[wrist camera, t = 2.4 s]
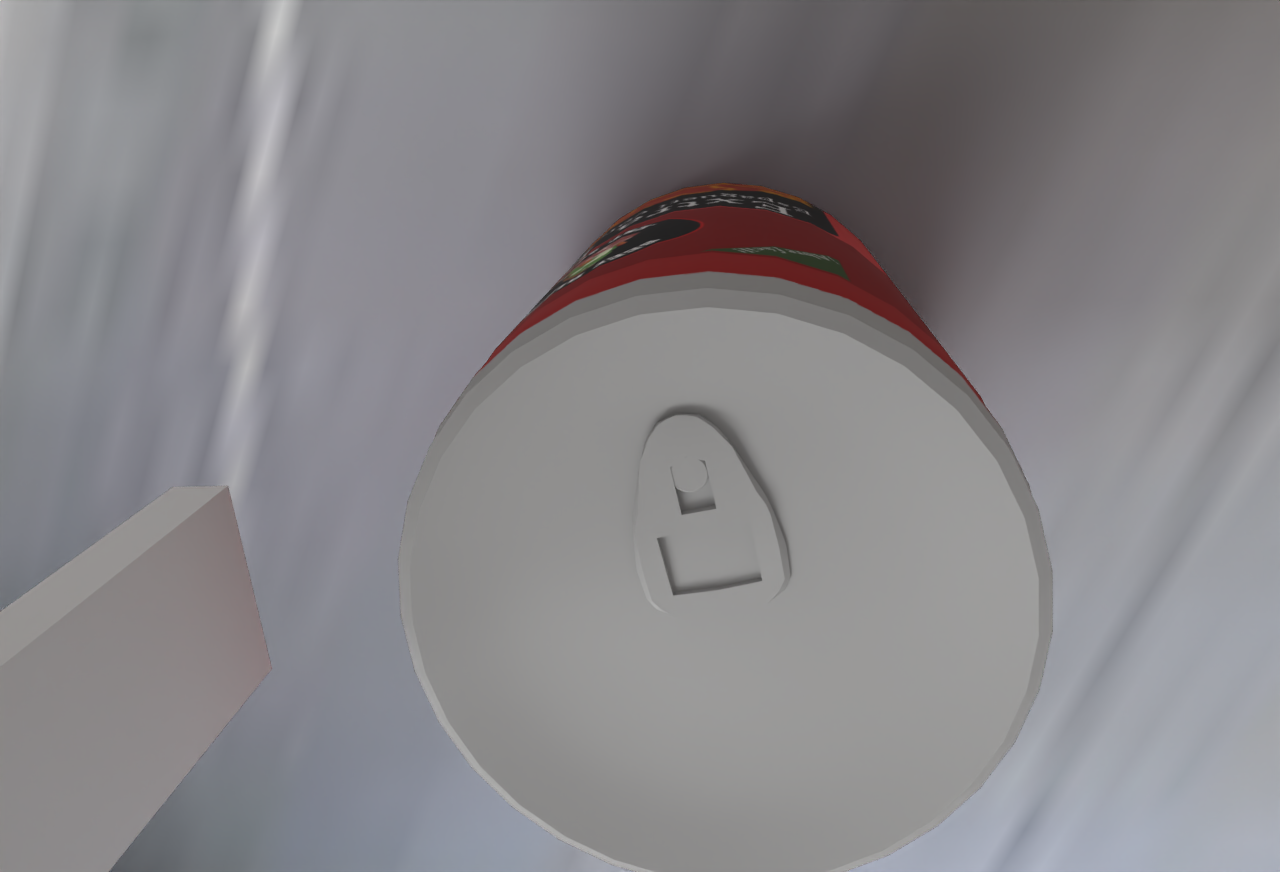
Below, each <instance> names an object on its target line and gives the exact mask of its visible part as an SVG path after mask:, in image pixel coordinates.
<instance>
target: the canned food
mask: <svg viewBox="0 0 1280 872" xmlns="http://www.w3.org/2000/svg"><path fill="white" fill-rule="evenodd" d="M398 570H399V591H400V613H401V619H402V623H403V627H404V631H405V635H406V639H407V643H408V647H409V651H410V655H411V659H412V662H413V666H414V670H415V673H416V675H417V677H418V679H419V681H420V683H421V685H422V688H423V690H424V692H425V694H426V696H427V698H428V700H429V702H430V704H431V707H432V709H433V711H434V713H435V715H436V717H437V719H438V721H439V723H440V724H441V726H442V727H443V728H444V730H445V731H446V733H447V734H448V735H449V737H450V738H451V740H452V741H453V742H454V744H455V745H456V746H457V748H458V749H459V751H460V752H461V753H462V755H463V756H464V758H465V759H466V760H467V762H468V763H469V764H470V766H471V767H472V768H473V769H474V770H475V771H476V772H477V773H478V774H479V775H480V776H481V777H482V778H483V779H484V780H485V781H486V782H487V783H488V784H489V785H490V786H491V787H492V788H493V789H494V790H495V791H496V792H497V793H498V794H499V795H500V796H501V797H502V798H503V799H504V800H505V801H506V802H507V803H509V804H510V805H511V806H512V807H513V808H514V809H516V810H517V811H518V812H520V813H521V814H523V815H524V816H526V817H527V818H529V819H530V820H531V821H533V822H534V823H536V824H537V825H539V826H540V827H542V828H543V829H544V830H546V831H547V832H549V833H550V834H552V835H553V836H555V837H556V838H557V839H559V840H561V841H563V842H565V843H567V844H569V845H571V846H573V847H575V848H578V849H580V850H582V851H584V852H586V853H588V854H590V855H592V856H594V857H596V858H598V859H601V860H603V861H605V862H607V863H609V864H611V865H615V866H618V867H621V868H625V869H628V870H632V871H635V872H846V871H849V870H851V869H854V868H856V867H859V866H862V865H864V864H867V863H870V862H872V861H875V860H878V859H880V858H883V857H886V856H888V855H890V854H892V853H893V852H895V851H897V850H898V849H900V848H902V847H904V846H905V845H907V844H909V843H910V842H912V841H914V840H915V839H917V838H919V837H920V836H922V835H924V834H925V833H927V832H929V831H930V830H932V829H934V828H935V827H937V826H938V825H939V824H941V823H942V822H943V821H944V820H945V819H946V818H947V817H948V816H950V815H951V814H952V813H953V812H954V811H955V810H956V809H957V808H959V807H960V806H961V805H962V804H963V803H964V802H965V801H967V800H968V799H969V798H970V797H971V796H972V795H973V794H974V793H976V792H977V791H978V790H979V789H980V788H981V787H982V785H983V784H984V783H985V781H986V780H987V779H988V777H989V776H990V775H991V773H992V772H993V771H994V769H995V768H996V767H997V765H998V764H999V763H1000V761H1001V760H1002V759H1003V758H1004V756H1005V755H1006V754H1007V752H1008V751H1009V750H1010V748H1011V747H1012V746H1013V744H1014V743H1015V741H1016V739H1017V737H1018V735H1019V733H1020V730H1021V728H1022V726H1023V724H1024V722H1025V720H1026V718H1027V715H1028V713H1029V711H1030V709H1031V707H1032V705H1033V703H1034V701H1035V698H1036V696H1037V694H1038V692H1039V690H1040V685H1041V681H1042V677H1043V672H1044V668H1045V663H1046V659H1047V654H1048V650H1049V645H1050V641H1051V637H1052V632H1053V592H1052V567H1051V562H1050V558H1049V553H1048V549H1047V545H1046V540H1045V536H1044V531H1043V527H1042V523H1041V518H1040V514H1039V509H1038V507H1037V505H1036V503H1035V501H1034V499H1033V497H1032V494H1031V490H1030V486H1029V484H1028V482H1027V480H1026V478H1025V476H1024V473H1023V471H1022V469H1021V467H1020V465H1019V463H1018V461H1017V459H1016V457H1015V455H1014V452H1013V450H1012V448H1011V446H1010V444H1009V442H1008V440H1007V438H1006V436H1005V434H1004V431H1003V429H1002V428H1001V426H1000V425H999V424H998V422H997V421H996V420H995V418H994V417H993V416H992V414H991V413H990V412H989V410H988V409H987V408H986V406H985V404H984V402H983V400H982V398H981V396H980V395H979V394H978V392H977V391H976V390H975V389H974V387H973V386H972V385H971V383H970V382H969V381H968V380H967V378H966V377H965V376H964V374H963V373H962V372H961V370H960V369H959V368H958V367H957V365H956V364H955V363H954V361H953V360H952V359H951V357H950V356H949V355H948V354H947V352H946V351H945V350H944V348H943V347H942V346H941V345H940V343H939V342H938V341H937V339H936V338H935V337H934V335H933V334H932V333H931V332H930V330H929V329H928V328H927V326H926V325H925V324H924V322H923V321H922V320H921V319H920V317H919V316H918V315H917V313H916V312H915V311H914V310H913V308H912V307H911V306H910V304H909V303H908V302H907V300H906V299H905V298H904V297H903V295H902V294H901V293H900V291H899V290H898V289H897V287H896V286H895V285H894V284H893V282H892V281H891V280H890V278H889V277H888V276H887V275H886V273H885V272H884V271H883V269H882V268H881V267H880V265H879V264H878V263H877V262H876V260H875V259H874V258H873V256H872V255H871V254H870V253H869V251H868V250H867V249H866V247H865V246H864V245H863V243H862V242H861V241H860V240H859V239H858V238H857V237H856V236H855V235H853V234H852V233H851V232H850V231H849V230H848V229H846V228H845V227H844V226H843V225H842V224H840V223H839V222H838V221H837V220H836V219H835V218H833V217H832V216H831V215H829V214H828V213H826V212H824V211H822V210H820V209H818V208H817V207H815V206H813V205H811V204H809V203H807V202H806V201H804V200H802V199H800V198H798V197H796V196H792V195H789V194H786V193H782V192H779V191H776V190H772V189H769V188H766V187H763V186H754V185H742V184H731V183H718V184H711V185H703V186H695V187H687V188H683V189H681V190H678V191H675V192H672V193H669V194H666V195H663V196H660V197H658V198H655V199H652V200H650V201H648V202H646V203H645V204H643V205H641V206H640V207H638V208H637V209H635V210H633V211H632V212H630V213H628V214H627V215H625V216H623V217H622V218H620V219H619V220H618V221H617V222H615V223H614V224H613V225H612V226H611V227H610V228H609V229H608V230H607V231H606V232H605V233H604V234H603V235H602V236H601V237H600V238H598V239H597V240H596V241H595V242H594V243H593V244H592V245H591V246H590V247H589V248H588V250H587V251H586V252H585V253H584V254H583V255H582V256H581V257H580V258H579V259H578V260H577V261H576V263H575V264H574V265H573V266H572V267H571V268H570V269H569V270H568V271H567V272H566V273H565V274H564V276H563V277H562V278H561V279H560V280H559V281H558V282H557V283H556V284H555V285H554V286H553V287H552V289H551V290H550V291H549V292H548V293H547V294H546V295H545V296H544V297H543V298H542V299H541V300H540V302H539V303H538V304H537V305H536V306H535V307H534V308H533V309H532V310H531V311H530V312H529V313H528V315H527V316H526V317H525V318H524V319H523V320H522V321H521V322H520V323H519V324H518V325H517V326H516V328H515V329H514V330H513V331H512V332H511V333H510V334H509V335H508V336H507V337H506V338H505V339H504V341H503V342H502V343H501V344H500V345H499V346H498V347H497V348H496V349H495V350H494V352H493V353H492V355H491V356H490V358H489V359H488V361H487V362H486V363H485V364H484V365H483V367H482V368H481V369H480V370H479V371H478V372H477V373H476V374H475V376H474V377H473V378H472V380H471V381H470V383H469V384H468V386H467V387H466V388H465V390H464V391H463V393H462V394H461V396H460V397H459V399H458V400H457V401H456V403H455V404H454V406H453V407H452V409H451V410H450V412H449V413H448V415H447V416H446V417H445V419H444V420H443V422H442V423H441V425H440V426H439V429H438V431H437V433H436V436H435V438H434V441H433V442H432V444H431V445H430V447H429V450H428V452H427V455H426V457H425V460H424V462H423V464H422V467H421V469H420V472H419V474H418V477H417V479H416V482H415V484H414V487H413V489H412V492H411V494H410V497H409V499H408V502H407V508H406V514H405V520H404V526H403V532H402V538H401V544H400V550H399V556H398Z"/></svg>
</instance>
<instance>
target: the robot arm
mask: <svg viewBox="0 0 1280 872" xmlns="http://www.w3.org/2000/svg"><path fill="white" fill-rule="evenodd" d="M271 669H272V667H271V663H270V658H269V654H268V650H267V646H266V642H265V638H264V633H263V629H262V625H261V621H260V617H259V613H258V608H257V604H256V600H255V596H254V592H253V588H252V583H251V579H250V575H249V571H248V567H247V563H246V558H245V554H244V550H243V546H242V542H241V538H240V533H239V529H238V525H237V521H236V517H235V513H234V509H233V504H232V500H231V496H230V492H229V488H228V486H194V487H172V488H170V489H169V490H168V491H166V492H165V493H164V494H162V495H161V496H159V497H158V498H157V499H155V500H154V501H152V502H151V503H150V504H148V505H147V506H146V507H144V508H143V509H141V510H140V511H139V512H137V513H136V514H134V515H133V516H132V517H130V518H129V519H128V520H126V521H125V522H123V523H122V524H121V525H119V526H118V527H116V528H115V529H114V530H112V531H111V532H110V533H108V534H107V535H105V536H104V537H103V538H101V539H100V540H98V541H97V542H96V543H94V544H93V545H92V546H90V547H89V548H87V549H86V550H85V551H83V552H82V553H80V554H79V555H78V556H76V557H75V558H74V559H72V560H71V561H69V562H68V563H67V564H65V565H64V566H62V567H61V568H60V569H58V570H57V571H56V572H54V573H53V574H51V575H50V576H49V577H47V578H46V579H44V580H43V581H42V582H40V583H39V584H38V585H36V586H35V587H33V588H32V589H31V590H29V591H28V592H26V593H25V594H24V595H22V596H21V597H20V598H18V599H17V600H15V601H14V602H13V603H11V604H10V605H8V606H7V607H6V608H4V609H3V610H2V611H0V872H109V871H110V870H111V869H112V867H113V866H114V865H115V864H116V862H117V861H118V860H119V859H120V857H121V856H122V855H123V854H124V852H125V851H126V850H127V849H128V847H129V846H130V845H131V844H132V842H133V841H134V840H135V839H136V837H137V836H138V835H139V834H140V832H141V831H142V830H143V829H144V827H145V826H146V825H147V824H148V822H149V821H150V820H151V819H152V817H153V816H154V815H155V814H156V813H157V811H158V810H159V809H160V808H161V806H162V805H163V804H164V803H165V801H166V800H167V799H168V798H169V796H170V795H171V794H172V793H173V791H174V790H175V789H176V788H177V786H178V785H179V784H180V783H181V781H182V780H183V779H184V778H185V776H186V775H187V774H188V773H189V771H190V770H191V769H192V768H193V766H194V765H195V764H196V763H197V761H198V760H199V759H200V758H201V756H202V755H203V754H204V753H205V751H206V750H207V749H208V748H209V746H210V745H211V744H212V743H213V742H214V740H215V739H216V738H217V737H218V735H219V734H220V733H221V732H222V730H223V729H224V728H225V727H226V725H227V724H228V723H229V722H230V720H231V719H232V718H233V717H234V715H235V714H236V713H237V712H238V710H239V709H240V708H241V707H242V705H243V704H244V703H245V702H246V700H247V699H248V698H249V697H250V695H251V694H252V693H253V692H254V690H255V689H256V688H257V687H258V685H259V684H260V683H261V682H262V680H263V679H264V678H265V677H266V676H267V674H268V673H269V672H270V671H271Z"/></svg>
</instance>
